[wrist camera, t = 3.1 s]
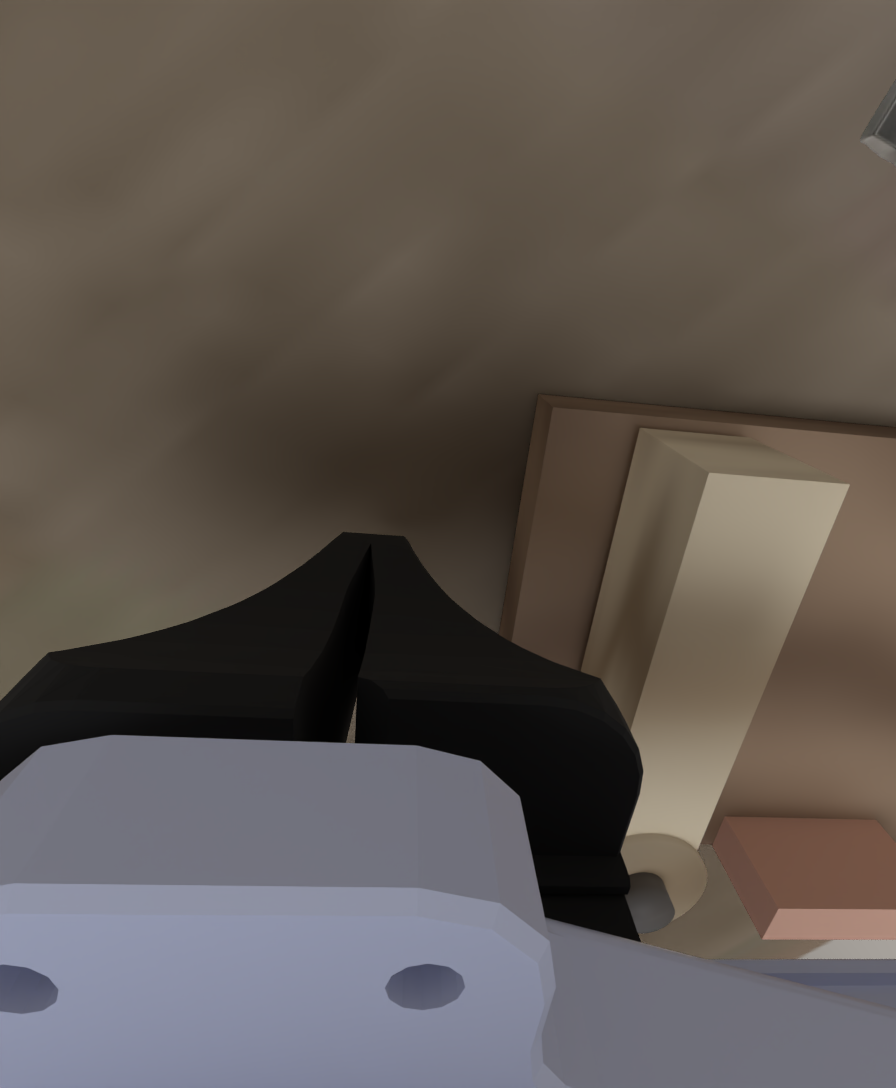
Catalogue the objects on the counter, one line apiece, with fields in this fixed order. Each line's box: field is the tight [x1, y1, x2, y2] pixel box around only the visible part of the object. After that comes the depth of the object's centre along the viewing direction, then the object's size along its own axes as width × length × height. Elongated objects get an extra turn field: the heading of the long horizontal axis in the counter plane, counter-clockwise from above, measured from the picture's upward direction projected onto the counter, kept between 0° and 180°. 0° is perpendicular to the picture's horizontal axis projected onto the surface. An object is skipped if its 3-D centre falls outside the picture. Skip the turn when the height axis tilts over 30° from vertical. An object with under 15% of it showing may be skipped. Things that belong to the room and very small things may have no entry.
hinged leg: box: [581, 428, 850, 933], centre depth 12 cm, size 11×3×4 cm, turn 174°
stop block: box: [712, 816, 896, 940], centre depth 16 cm, size 1×5×3 cm, turn 84°
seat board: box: [499, 394, 896, 844], centre depth 16 cm, size 13×14×2 cm
